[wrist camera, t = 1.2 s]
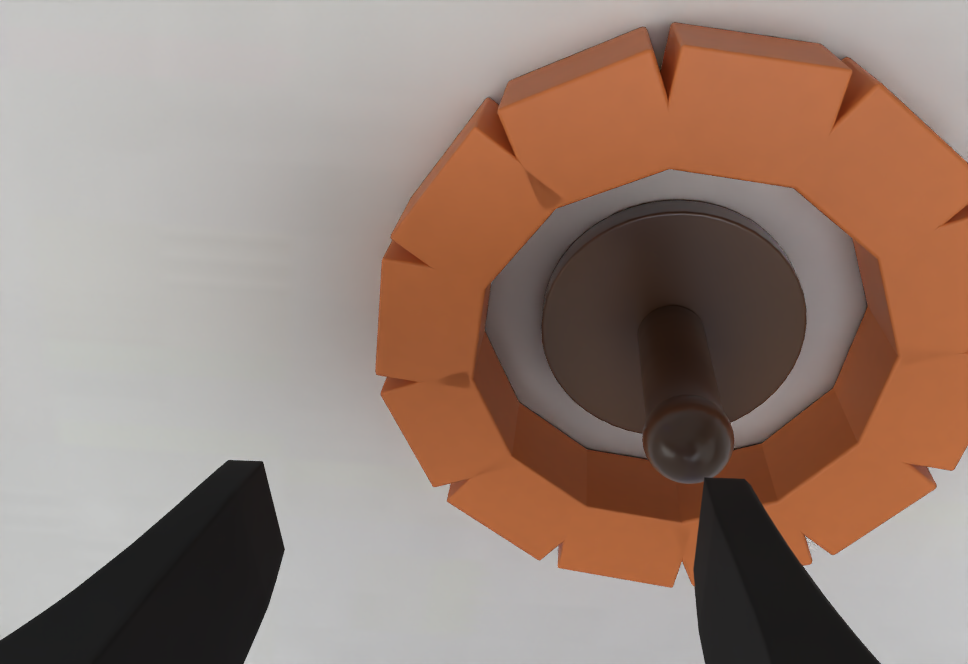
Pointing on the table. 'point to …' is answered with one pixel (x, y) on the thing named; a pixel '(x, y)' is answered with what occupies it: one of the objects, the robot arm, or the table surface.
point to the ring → (705, 150)
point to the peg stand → (674, 328)
